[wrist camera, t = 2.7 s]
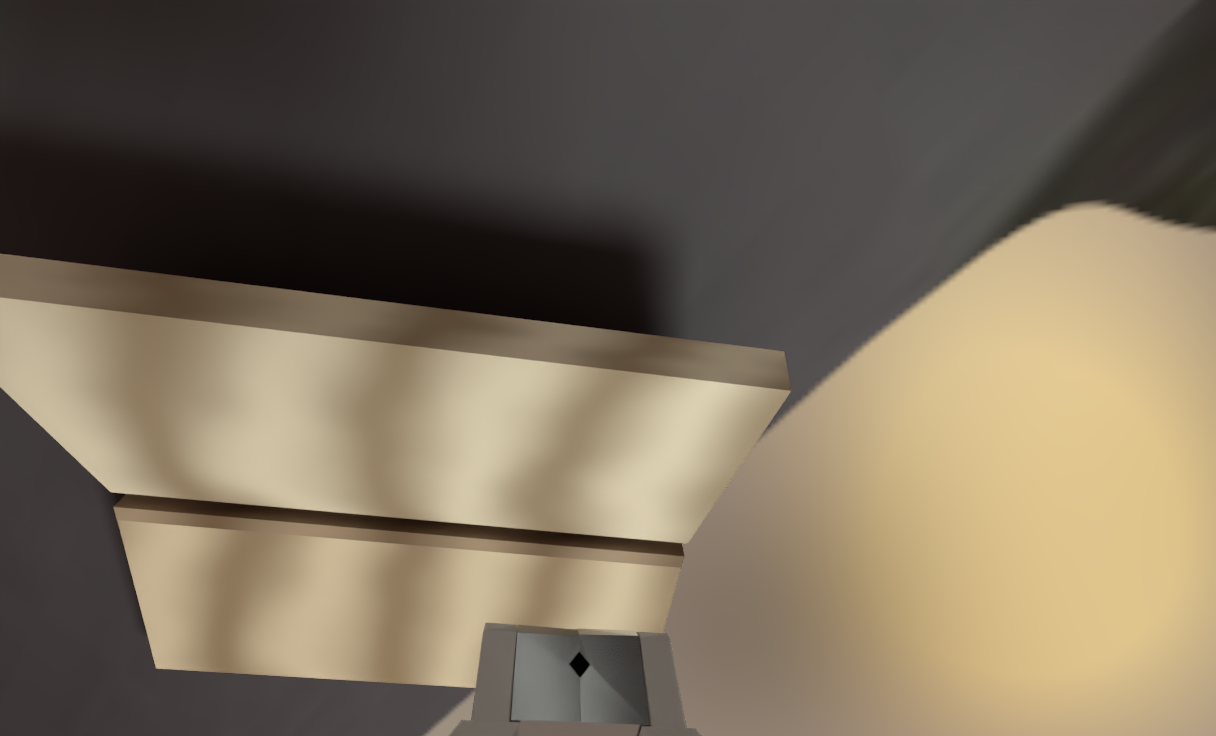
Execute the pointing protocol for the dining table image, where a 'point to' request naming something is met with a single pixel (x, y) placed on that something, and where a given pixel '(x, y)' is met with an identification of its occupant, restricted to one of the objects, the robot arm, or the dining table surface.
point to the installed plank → (370, 588)
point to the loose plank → (378, 403)
